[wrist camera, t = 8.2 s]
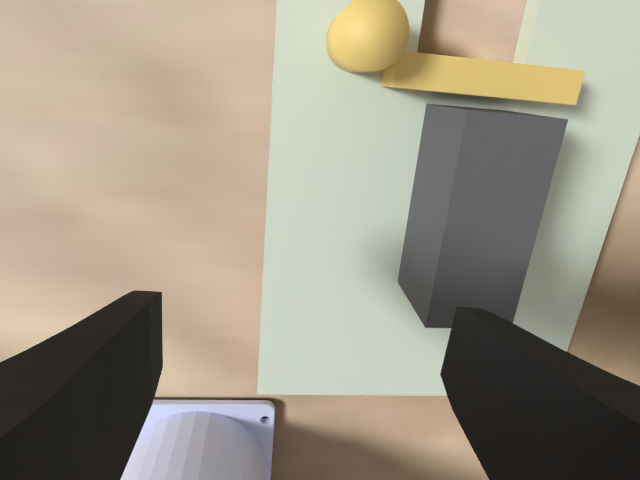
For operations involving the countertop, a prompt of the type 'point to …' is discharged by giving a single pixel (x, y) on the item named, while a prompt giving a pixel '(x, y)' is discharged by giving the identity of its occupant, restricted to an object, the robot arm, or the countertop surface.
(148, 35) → the countertop surface
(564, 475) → the robot arm
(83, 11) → the countertop surface
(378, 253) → the pale green u-shaped slab
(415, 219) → the tall gray prism
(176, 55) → the countertop surface
